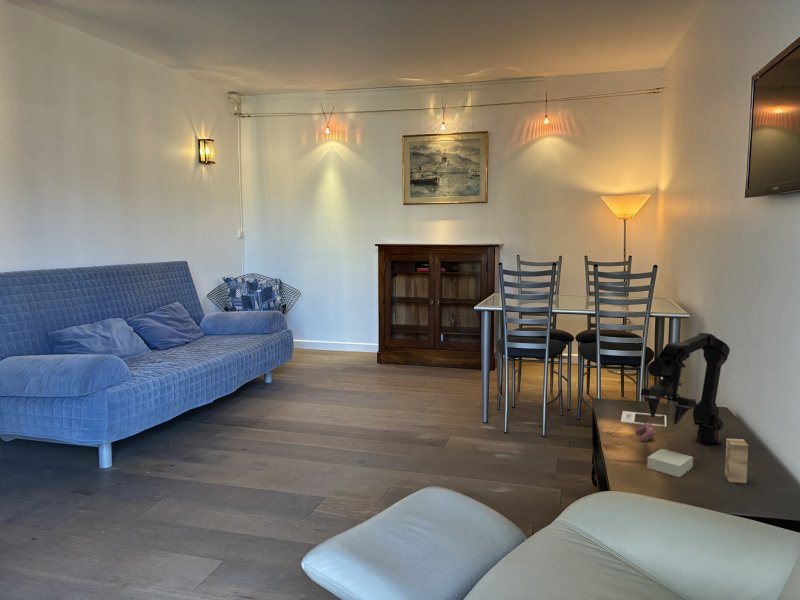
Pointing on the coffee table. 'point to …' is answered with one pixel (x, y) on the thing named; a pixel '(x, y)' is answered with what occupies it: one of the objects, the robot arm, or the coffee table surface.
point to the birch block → (736, 460)
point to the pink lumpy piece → (646, 431)
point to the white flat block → (670, 462)
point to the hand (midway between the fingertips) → (663, 420)
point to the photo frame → (630, 417)
